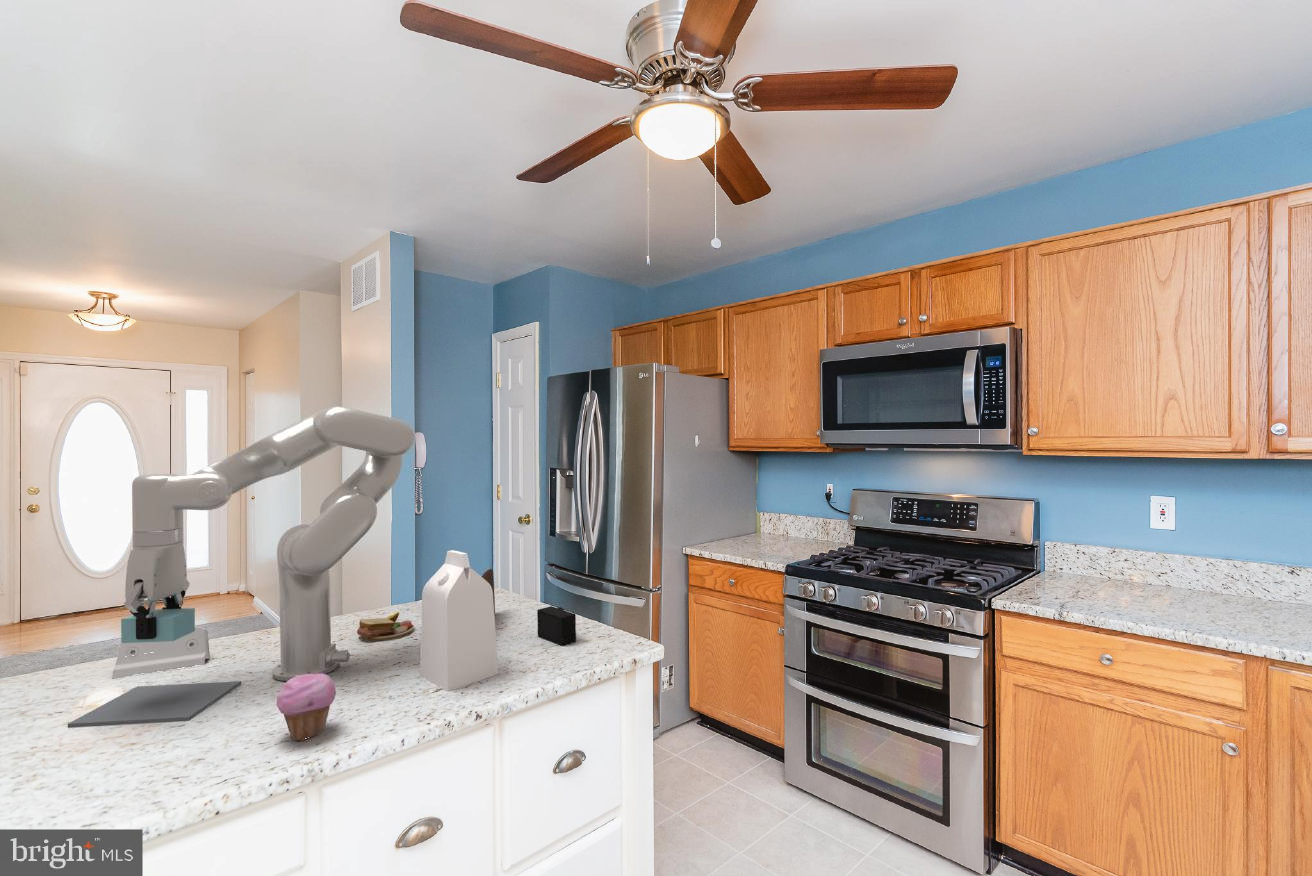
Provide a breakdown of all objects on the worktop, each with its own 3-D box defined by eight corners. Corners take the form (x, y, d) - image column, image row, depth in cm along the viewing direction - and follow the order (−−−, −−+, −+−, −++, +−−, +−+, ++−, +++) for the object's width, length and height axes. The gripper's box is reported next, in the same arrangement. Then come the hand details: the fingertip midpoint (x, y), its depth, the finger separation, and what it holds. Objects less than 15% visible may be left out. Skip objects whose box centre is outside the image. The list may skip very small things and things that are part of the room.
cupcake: (271, 734, 102) (270, 675, 102) (327, 716, 108) (326, 661, 108) (285, 753, 96) (284, 690, 96) (343, 733, 102) (342, 675, 102)
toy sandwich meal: (419, 635, 154) (419, 617, 154) (362, 647, 146) (361, 627, 146) (407, 623, 164) (407, 606, 164) (352, 633, 156) (352, 615, 156)
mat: (241, 684, 124) (241, 681, 124) (188, 720, 108) (188, 717, 108) (137, 689, 122) (137, 686, 122) (67, 727, 106) (67, 723, 106)
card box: (145, 632, 117) (145, 609, 117) (194, 631, 118) (194, 608, 118) (121, 643, 111) (121, 618, 111) (173, 641, 112) (173, 617, 112)
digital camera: (580, 641, 147) (580, 612, 147) (562, 646, 143) (561, 617, 143) (555, 631, 154) (555, 604, 154) (537, 637, 151) (537, 609, 151)
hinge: (109, 679, 127) (114, 630, 130) (117, 679, 131) (122, 631, 134) (206, 665, 135) (208, 619, 138) (210, 665, 139) (213, 621, 142)
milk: (498, 674, 127) (496, 551, 127) (447, 691, 119) (445, 560, 119) (469, 660, 135) (467, 545, 135) (419, 675, 127) (417, 552, 127)
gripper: (169, 532, 123) (170, 620, 123) (100, 547, 106) (100, 649, 106) (208, 531, 124) (209, 618, 124) (145, 546, 106) (146, 647, 106)
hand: (159, 632), depth 115 cm, fingers closed on card box, 6 cm apart
